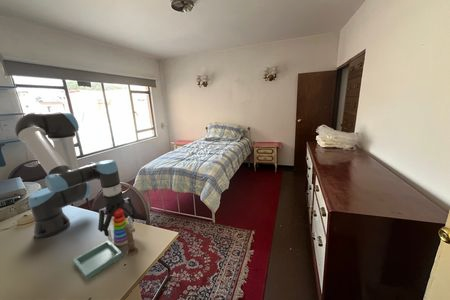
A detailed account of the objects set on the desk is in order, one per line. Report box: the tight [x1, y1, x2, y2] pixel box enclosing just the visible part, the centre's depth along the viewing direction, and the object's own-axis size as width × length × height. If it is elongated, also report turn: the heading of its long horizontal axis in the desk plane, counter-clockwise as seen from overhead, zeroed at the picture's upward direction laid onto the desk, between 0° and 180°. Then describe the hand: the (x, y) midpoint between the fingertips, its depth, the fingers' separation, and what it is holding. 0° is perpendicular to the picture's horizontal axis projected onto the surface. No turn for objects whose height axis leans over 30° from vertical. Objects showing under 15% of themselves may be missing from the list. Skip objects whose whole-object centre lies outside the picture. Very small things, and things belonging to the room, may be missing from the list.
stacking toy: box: [112, 208, 128, 247], centre depth 92 cm, size 8×8×19 cm
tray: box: [72, 239, 124, 281], centre depth 83 cm, size 14×14×2 cm
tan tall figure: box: [123, 223, 139, 256], centre depth 85 cm, size 6×4×14 cm
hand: (121, 234), depth 93 cm, fingers open, 10 cm apart
